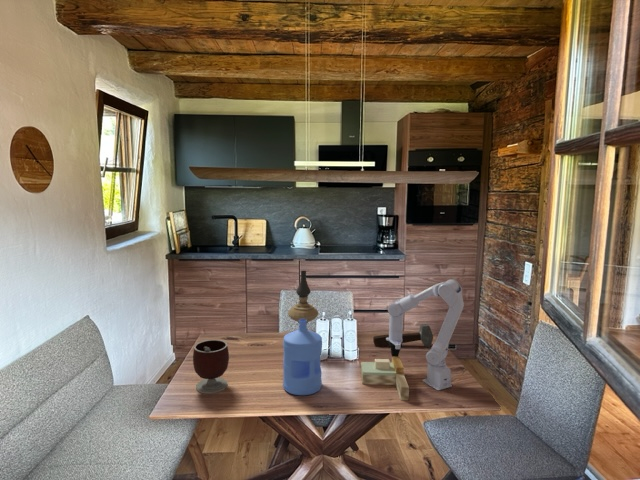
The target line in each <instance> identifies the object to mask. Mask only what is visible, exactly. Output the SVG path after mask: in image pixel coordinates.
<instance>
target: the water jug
mask: <svg viewBox="0 0 640 480" xmlns="http://www.w3.org/2000/svg"><path fill="white" fill-rule="evenodd" d="M306 322H307V320H306V319H300V320H299V323H298V329H296V330H294V331H291V332H288V333H286V334H285V335H284V336H283V341H282V348H283V352H282V353H283V360H282V366H283V367H282V369H283V380H282V386H283V389H284V390H285V391H286V392H287V393H288V394H291V395H295V396H308V395H309V396H310V395H313V394H315V393H317V392H319V391H320V389H322V386H323V385H322V368H321V357H322V352H323V337H322V336H321V335H320V334H319V333H318V332H315V331H312V330H310V329H308V328H307V327H308V326H307V325H308V323H307V324H306ZM307 329H308V330H307Z"/></svg>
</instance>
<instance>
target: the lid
mask: <svg viewBox="0 0 640 480" xmlns="http://www.w3.org/2000/svg"><path fill="white" fill-rule="evenodd" d="M361 367H362V373H363V375H385V376H396V372H395V369H394V366H393V363H392V361H390V359H389V358H375V359H374V361H360V368H361Z"/></svg>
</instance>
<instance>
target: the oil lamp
mask: <svg viewBox="0 0 640 480" xmlns="http://www.w3.org/2000/svg"><path fill="white" fill-rule="evenodd" d="M295 291H296V292H295V293H296V294H297V295H298V301H295V304H294V305H293V306H292V307H291V308H290V309H289V310H288V311H287V315H288V317H289V318H290V319H291V320H293V321H294V322H297V323H298V324H299V320H300V319H306V320H307V322H306V324H307V325H308V323H309V322H311V321H314V320H315V319H316V318H317V317H318V316H319V314H320V313H319V311H318V309H317V308H316V307H315V306H314V305H313V304H311V303H309V302H308V298H309V295H310V294H311V291H312V290H311V289H310V287H309V285H308V281H307V271H306V270H301V271H300V281H299V285H298V286H297V289H296V290H295ZM307 330H309V329H308V328H307Z"/></svg>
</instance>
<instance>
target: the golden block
mask: <svg viewBox="0 0 640 480" xmlns="http://www.w3.org/2000/svg"><path fill="white" fill-rule="evenodd" d="M391 362H392V363H393V366H394V369H395V372H396V373H400V374H404V375H405V371H404V370H405V369H404V365H403V363H402V361H401V358H400V356H398V357H396V356H392V355H391Z"/></svg>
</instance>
